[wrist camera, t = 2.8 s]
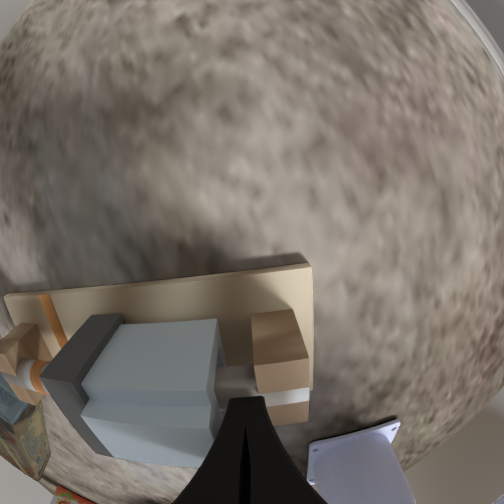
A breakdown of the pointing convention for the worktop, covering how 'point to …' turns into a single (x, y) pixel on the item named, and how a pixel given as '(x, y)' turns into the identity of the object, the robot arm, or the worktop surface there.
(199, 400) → the sleeve
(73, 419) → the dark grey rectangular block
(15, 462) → the beverage carton
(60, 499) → the cracker box
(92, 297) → the pipe stand
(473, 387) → the worktop surface
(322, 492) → the robot arm
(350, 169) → the worktop surface
